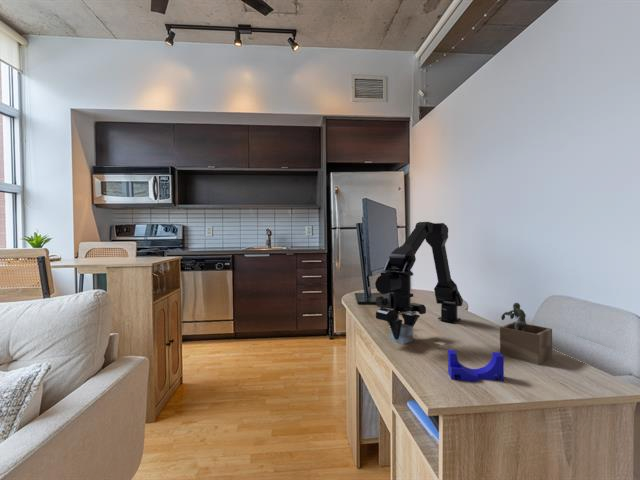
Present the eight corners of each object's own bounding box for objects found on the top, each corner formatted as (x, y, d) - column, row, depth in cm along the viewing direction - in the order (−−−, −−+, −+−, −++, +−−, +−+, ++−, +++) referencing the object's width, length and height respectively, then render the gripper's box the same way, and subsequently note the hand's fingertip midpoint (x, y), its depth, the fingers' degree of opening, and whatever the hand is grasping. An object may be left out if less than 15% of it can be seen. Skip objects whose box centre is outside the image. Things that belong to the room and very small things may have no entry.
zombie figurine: (516, 355, 100) (513, 305, 105) (533, 355, 93) (529, 302, 98) (500, 352, 99) (498, 302, 104) (516, 352, 93) (513, 299, 98)
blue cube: (400, 337, 112) (400, 323, 112) (412, 341, 108) (412, 326, 108) (390, 340, 109) (390, 325, 109) (402, 344, 105) (402, 328, 105)
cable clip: (451, 380, 79) (451, 355, 79) (448, 373, 84) (447, 349, 84) (506, 384, 77) (505, 359, 77) (499, 376, 82) (499, 352, 82)
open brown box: (515, 347, 102) (515, 321, 102) (552, 356, 94) (552, 328, 94) (500, 354, 96) (499, 327, 96) (538, 365, 88) (538, 335, 88)
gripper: (400, 284, 120) (400, 327, 120) (363, 290, 109) (363, 337, 109) (426, 288, 111) (427, 334, 111) (389, 294, 100) (389, 346, 100)
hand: (401, 337), depth 108 cm, fingers closed on blue cube, 5 cm apart
